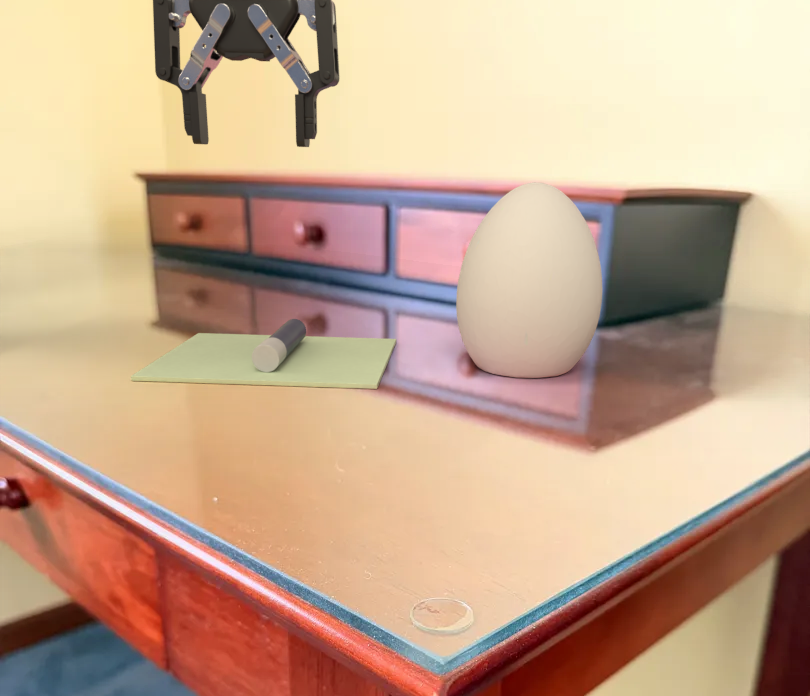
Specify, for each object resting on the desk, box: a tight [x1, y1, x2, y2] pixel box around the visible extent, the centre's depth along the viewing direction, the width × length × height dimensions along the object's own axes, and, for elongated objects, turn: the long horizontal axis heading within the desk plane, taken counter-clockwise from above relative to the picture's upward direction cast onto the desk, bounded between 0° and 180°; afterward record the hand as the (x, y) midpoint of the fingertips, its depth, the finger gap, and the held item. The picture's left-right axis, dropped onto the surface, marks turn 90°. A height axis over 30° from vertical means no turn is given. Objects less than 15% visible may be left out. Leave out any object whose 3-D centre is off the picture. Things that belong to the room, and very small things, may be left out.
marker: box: [252, 318, 307, 372], centre depth 73 cm, size 12×2×2 cm, turn 176°
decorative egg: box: [455, 182, 603, 379], centre depth 69 cm, size 12×12×15 cm
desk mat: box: [130, 332, 397, 390], centre depth 74 cm, size 20×18×1 cm
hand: (251, 145), depth 67 cm, fingers open, 8 cm apart
